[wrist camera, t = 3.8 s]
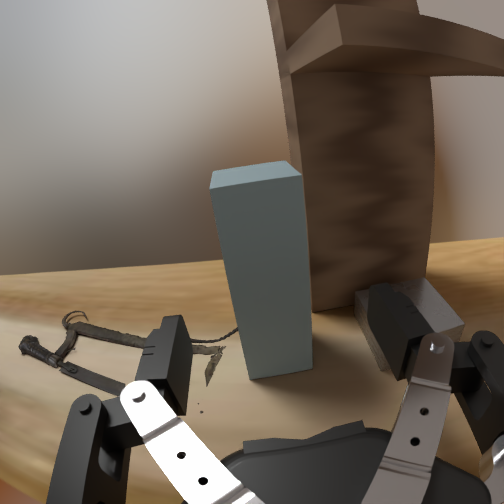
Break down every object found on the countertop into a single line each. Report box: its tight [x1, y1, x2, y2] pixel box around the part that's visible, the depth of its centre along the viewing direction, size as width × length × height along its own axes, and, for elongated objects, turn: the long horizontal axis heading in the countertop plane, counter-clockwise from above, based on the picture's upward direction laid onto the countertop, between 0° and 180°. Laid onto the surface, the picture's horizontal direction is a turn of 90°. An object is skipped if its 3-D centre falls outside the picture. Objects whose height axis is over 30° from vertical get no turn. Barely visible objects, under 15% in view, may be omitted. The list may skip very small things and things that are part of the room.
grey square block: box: [354, 277, 465, 371], centre depth 19 cm, size 6×6×2 cm
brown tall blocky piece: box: [267, 0, 504, 312], centre depth 15 cm, size 10×13×27 cm
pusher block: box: [210, 161, 313, 380], centre depth 17 cm, size 4×4×12 cm
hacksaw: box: [18, 311, 238, 413], centre depth 23 cm, size 24×10×2 cm, turn 73°
